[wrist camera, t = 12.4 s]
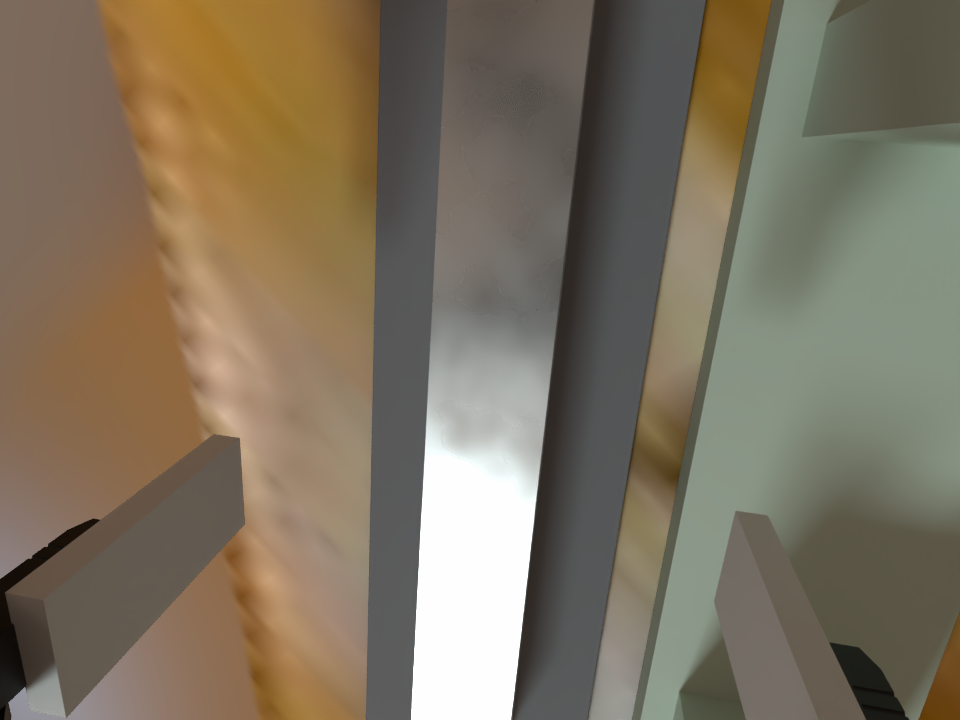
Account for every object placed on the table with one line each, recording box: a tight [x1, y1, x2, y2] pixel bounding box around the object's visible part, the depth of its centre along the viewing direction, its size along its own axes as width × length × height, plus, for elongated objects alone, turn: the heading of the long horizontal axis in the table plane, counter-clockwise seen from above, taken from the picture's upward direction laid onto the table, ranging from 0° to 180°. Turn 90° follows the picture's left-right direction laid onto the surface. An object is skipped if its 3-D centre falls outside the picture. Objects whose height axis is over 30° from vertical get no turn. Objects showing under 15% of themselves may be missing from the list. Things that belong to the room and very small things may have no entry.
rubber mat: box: [366, 0, 706, 720], centre depth 24 cm, size 34×10×1 cm, turn 176°
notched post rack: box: [632, 0, 960, 720], centre depth 16 cm, size 32×10×15 cm, turn 176°
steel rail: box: [411, 0, 596, 720], centre depth 21 cm, size 30×4×5 cm, turn 176°
